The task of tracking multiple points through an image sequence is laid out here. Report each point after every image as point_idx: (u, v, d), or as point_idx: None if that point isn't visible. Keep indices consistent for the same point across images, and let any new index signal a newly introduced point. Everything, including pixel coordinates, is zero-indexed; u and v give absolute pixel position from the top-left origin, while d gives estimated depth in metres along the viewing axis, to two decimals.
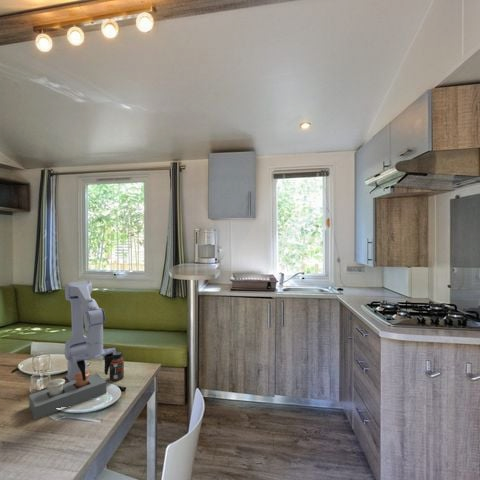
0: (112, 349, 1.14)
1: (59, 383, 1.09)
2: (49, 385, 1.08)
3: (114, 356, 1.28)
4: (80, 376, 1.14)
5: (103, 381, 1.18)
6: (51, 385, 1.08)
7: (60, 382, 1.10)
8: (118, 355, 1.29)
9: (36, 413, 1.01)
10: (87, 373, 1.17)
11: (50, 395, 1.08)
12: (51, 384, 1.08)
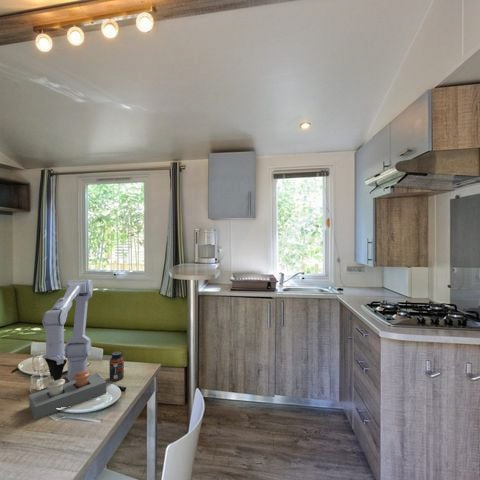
0: (59, 358, 1.05)
1: (59, 383, 1.09)
2: (49, 385, 1.08)
3: (114, 356, 1.28)
4: (80, 376, 1.14)
5: (103, 381, 1.18)
6: (51, 385, 1.08)
7: (60, 382, 1.10)
8: (118, 355, 1.29)
9: (36, 413, 1.01)
10: (87, 373, 1.17)
11: (50, 395, 1.08)
12: (51, 384, 1.08)
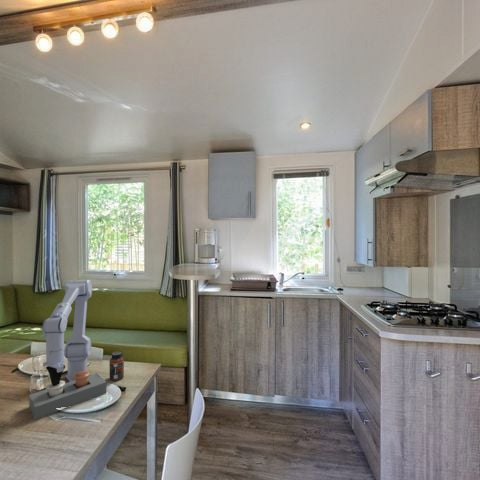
0: (59, 366, 1.05)
1: (59, 385, 1.09)
2: (49, 387, 1.08)
3: (114, 356, 1.28)
4: (80, 376, 1.14)
5: (103, 381, 1.18)
6: (51, 387, 1.08)
7: (60, 384, 1.10)
8: (118, 355, 1.29)
9: (36, 413, 1.01)
10: (87, 373, 1.17)
11: (50, 397, 1.08)
12: (51, 386, 1.08)
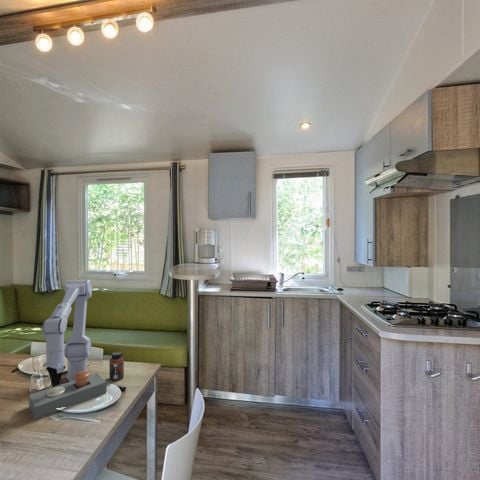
0: (59, 367, 1.05)
1: (59, 392, 1.09)
2: (49, 394, 1.08)
3: (114, 356, 1.28)
4: (80, 376, 1.14)
5: (103, 381, 1.18)
6: (51, 394, 1.08)
7: (60, 391, 1.10)
8: (118, 355, 1.29)
9: (36, 413, 1.01)
10: (87, 373, 1.17)
11: None
12: (51, 393, 1.08)
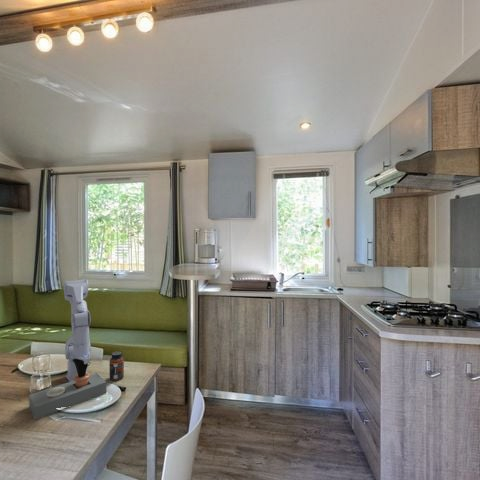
0: (86, 358, 1.11)
1: (59, 392, 1.09)
2: (49, 394, 1.08)
3: (114, 356, 1.28)
4: (80, 378, 1.14)
5: (103, 381, 1.18)
6: (51, 394, 1.08)
7: (60, 391, 1.10)
8: (118, 355, 1.29)
9: (36, 413, 1.01)
10: (87, 375, 1.17)
11: None
12: (51, 393, 1.08)
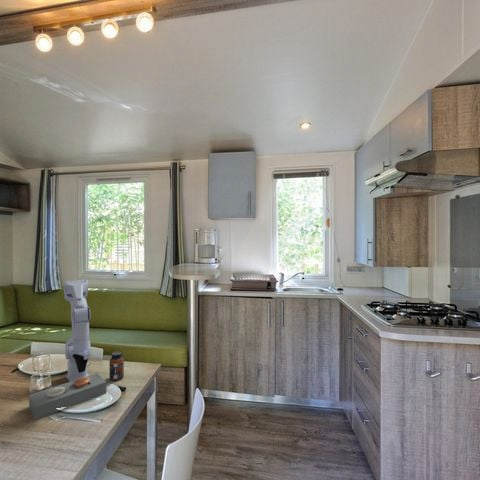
0: (86, 353, 1.11)
1: (59, 392, 1.09)
2: (49, 394, 1.08)
3: (114, 356, 1.28)
4: (80, 382, 1.14)
5: (103, 381, 1.18)
6: (51, 394, 1.08)
7: (60, 391, 1.10)
8: (118, 355, 1.29)
9: (36, 413, 1.01)
10: (87, 379, 1.17)
11: None
12: (51, 393, 1.08)
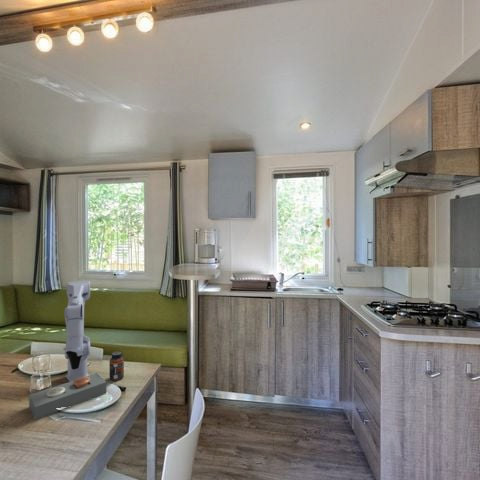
0: (79, 350, 1.12)
1: (59, 392, 1.09)
2: (49, 394, 1.08)
3: (114, 356, 1.28)
4: (80, 382, 1.14)
5: (103, 381, 1.18)
6: (51, 394, 1.08)
7: (60, 391, 1.10)
8: (118, 355, 1.29)
9: (36, 413, 1.01)
10: (87, 379, 1.17)
11: None
12: (51, 393, 1.08)
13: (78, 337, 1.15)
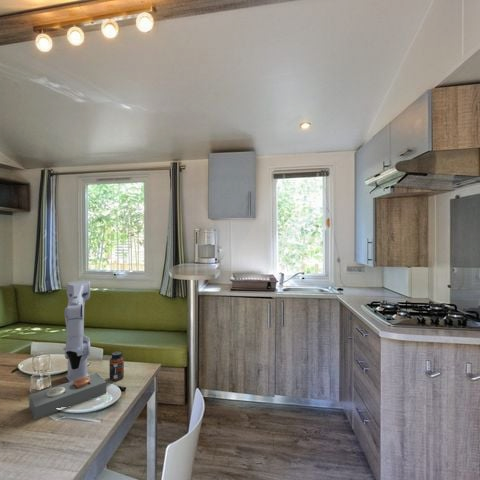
0: (79, 350, 1.12)
1: (59, 392, 1.09)
2: (49, 394, 1.08)
3: (114, 356, 1.28)
4: (80, 382, 1.14)
5: (103, 381, 1.18)
6: (51, 394, 1.08)
7: (60, 391, 1.10)
8: (118, 355, 1.29)
9: (36, 413, 1.01)
10: (87, 379, 1.17)
11: None
12: (51, 393, 1.08)
13: (78, 337, 1.15)
